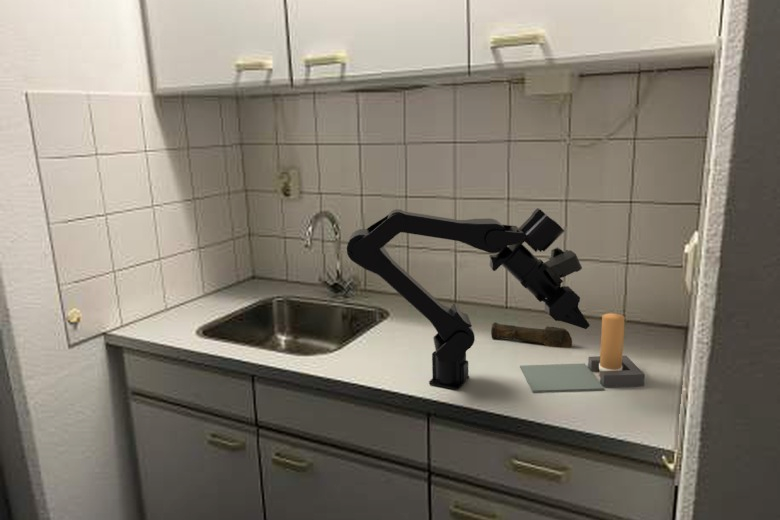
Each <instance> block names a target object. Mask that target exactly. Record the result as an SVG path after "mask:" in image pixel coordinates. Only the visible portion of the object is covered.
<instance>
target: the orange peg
mask: <svg viewBox="0 0 780 520" xmlns="http://www.w3.org/2000/svg"><path fill="white" fill-rule="evenodd" d="M625 319H626V317H625V316H624V315H623V314H618V313H610V312H609V313H605V314H602V317H601V336H600V337H601V338H600V363H599V371H598V372H599V373H598V376H599V377H600V373H601V371H622V356H623V353H624V338H625V337H624V333H625Z"/></svg>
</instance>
